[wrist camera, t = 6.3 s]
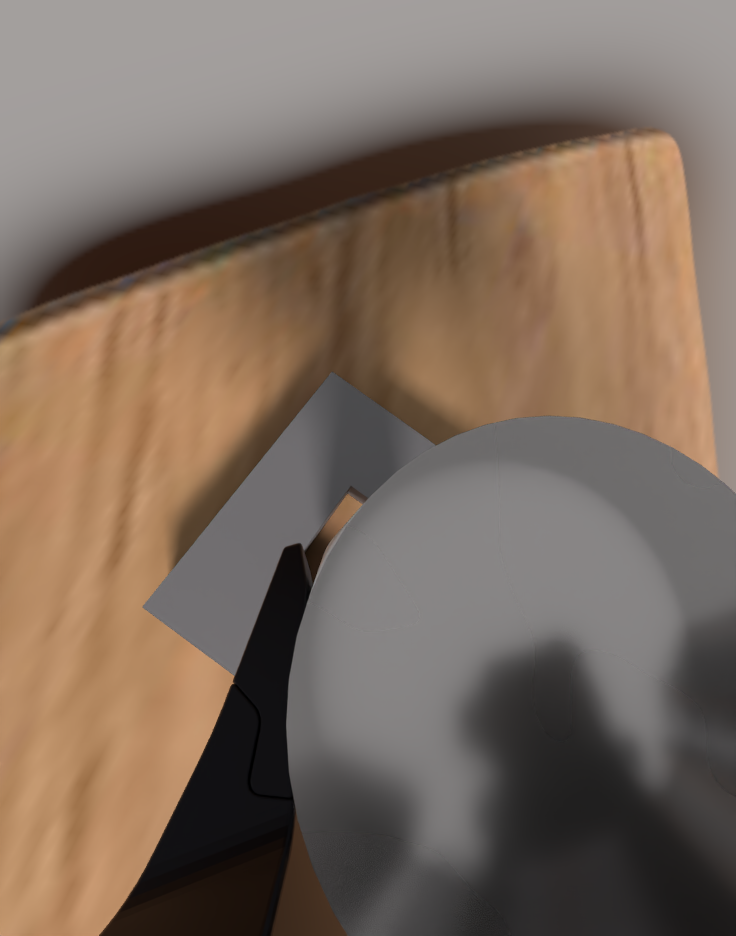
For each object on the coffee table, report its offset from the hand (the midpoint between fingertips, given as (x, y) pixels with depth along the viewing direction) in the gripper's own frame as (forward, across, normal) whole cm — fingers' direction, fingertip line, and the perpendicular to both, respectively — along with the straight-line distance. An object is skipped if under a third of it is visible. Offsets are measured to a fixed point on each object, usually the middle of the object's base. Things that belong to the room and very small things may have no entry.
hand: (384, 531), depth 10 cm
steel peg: (+4, 0, +6) cm, 7 cm away
